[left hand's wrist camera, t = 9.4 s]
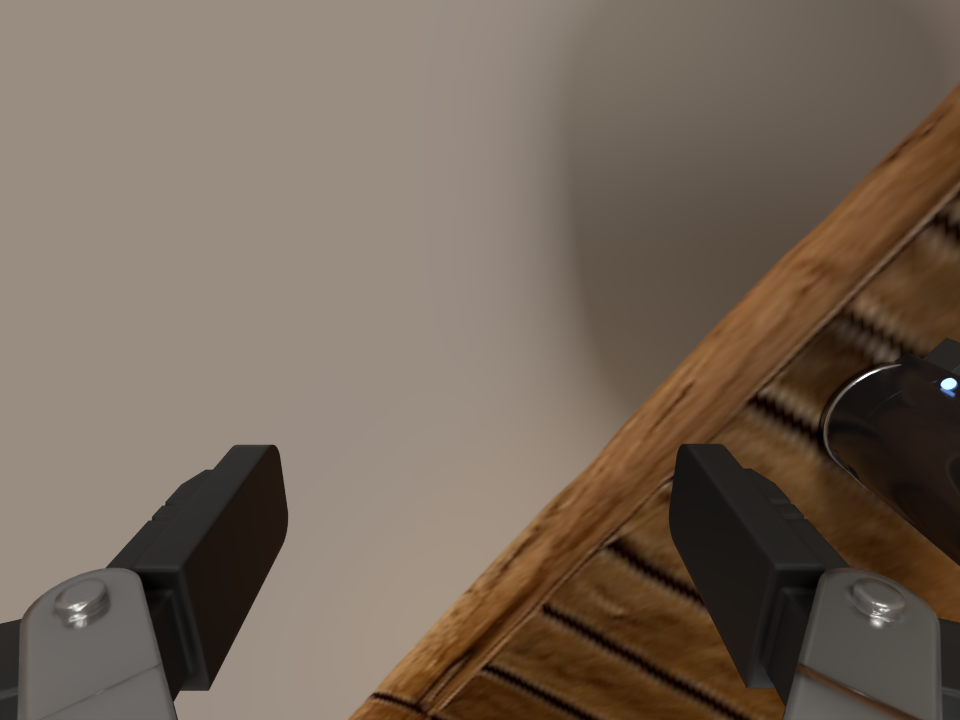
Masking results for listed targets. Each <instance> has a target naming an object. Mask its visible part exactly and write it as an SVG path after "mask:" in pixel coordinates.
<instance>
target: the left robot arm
mask: <svg viewBox="0 0 960 720" xmlns="http://www.w3.org/2000/svg"><path fill="white" fill-rule="evenodd" d="M820 436H821V441H822V444H823V447H824V449H825V451H826V452H827V454H828V455H829V456H830V457H831V458H832V459H833V460H834V461H835V462H836V463H837V464H839V465H840V466H841V467H842V468H844V469H845V470H846V471H847V472H849V473H850V474H851V475H852V476H853V477H854V478H855V479H856V478H857V479H858V480H859V481H860V482H862V483H863V484H864V485H865V486H866V487H867V488H869V489H870V490H871V491H872V492H873V493H874V494H876V495H877V496H878V497H879V498H880V499H881V500H883V501H884V502H885V503H886V504H887V505H888V506H890V507H891V508H892V509H893V510H894V511H896V512H897V513H898V514H899V515H900V516H901V517H903V518H904V519H905V520H906V521H907V522H908V523H910V524H911V525H912V526H913V527H914V528H916V529H917V530H918V531H919V532H920V533H921V534H923V535H924V536H925V537H926V538H927V539H928V540H930V541H931V542H932V543H933V544H934V545H935V546H937V547H938V548H939V549H940V550H941V551H943V552H944V553H945V554H946V555H947V556H948V557H950V558H951V559H952V560H953V561H954V562H955V563H957V564H958V565H959V566H960V343H959V342H956V341H954V340H951V339H949V338H946V339H945V340H944V341H943V342H942V343H940V344H939V345H938V346H937V347H936V348H935V349H933V350H932V351H931V352H930V353H929V354H928V355H926V356H925V357H924V358H923V359H922V358H920V357H917V356H915V355H913V354H911V353H909V352H908V353H905V354H904V355H902V356H901V357H900V358H899V359H897V360H896V361H894V362H887V363H882V364H878V365H875V366H872V367H869V368H867V369H865V370H862V371H860V372H859V373H857V374H855V375H854V376H852V377H851V378H849V379H848V380H847V381H846V382H845V383H843V384H842V385H841V386H840V387H839V388H838V389H837V391H836V392H835V393H834V394H833V395H832V397H831V398H830V400H829V401H828V403H827V405H826V407H825V409H824V412H823V415H822V418H821V423H820ZM857 479H856V480H857ZM858 480H857V481H858ZM859 481H858V482H859ZM860 482H859V483H860ZM860 484H861V483H860ZM861 485H862V484H861ZM862 486H863V485H862ZM863 487H864V486H863ZM864 488H865V487H864ZM669 525H670V531H671V536H672V539H673V542H674V544H675V546H676V548H677V550H678V552H679V554H680V556H681V558H682V560H683V562H684V564H685V566H686V568H687V570H688V572H689V574H690V576H691V578H692V580H693V582H694V584H695V586H696V588H697V590H698V592H699V594H700V596H701V598H702V600H703V602H704V604H705V606H706V608H707V610H708V612H709V614H710V616H711V618H712V620H713V622H714V624H715V626H716V628H717V630H718V632H719V634H720V636H721V638H722V640H723V642H724V644H725V646H726V648H727V650H728V652H729V654H730V656H731V658H732V660H733V662H734V664H735V666H736V668H737V670H738V672H739V674H740V676H741V678H742V680H743V682H744V684H745V686H746V688H775V689H776V690H777V692H778V694H779V696H780V698H781V699H782V701H783V703H784V705H785V710H784V714H783V718H782V720H960V623H958V622H954V621H949V620H945V619H940V618H937V616H936V614H935V612H934V611H933V610H932V608H931V607H930V606H929V605H928V604H927V603H926V602H925V601H924V600H923V599H922V598H921V597H920V596H918V595H917V594H916V593H914V592H913V591H911V590H910V589H909V588H907V587H905V586H903V585H902V584H900V583H898V582H896V581H894V580H892V579H890V578H888V577H885V576H883V575H880V574H877V573H874V572H871V571H866V570H862V569H856V568H851V567H850V566H849V565H848V564H847V563H846V562H845V561H844V560H843V559H842V557H841V556H840V555H839V554H838V553H837V552H836V551H835V550H834V549H833V547H832V546H831V545H830V544H829V543H828V542H827V541H826V540H825V539H824V537H823V536H822V535H821V534H820V533H819V532H818V531H817V530H816V529H815V527H814V526H813V525H812V524H811V523H810V522H809V521H808V520H807V519H804V515H803V514H802V513H801V512H800V511H799V510H798V509H797V507H796V506H795V505H794V504H791V501H790V500H789V499H788V497H787V496H786V495H785V494H784V493H783V492H782V491H781V490H780V489H779V487H778V486H777V485H776V484H775V483H773V482H772V481H770V480H768V479H767V478H765V477H764V476H762V475H760V474H759V473H757V472H755V471H754V470H752V469H743V468H742V466H741V465H740V464H739V463H738V462H737V460H736V459H735V458H734V457H733V456H732V455H731V453H730V452H729V451H728V450H727V449H726V447H725V446H724V445H722V444H682V445H681V446H680V447H679V450H678V453H677V458H676V466H675V473H674V480H673V487H672V494H671V501H670V508H669ZM287 527H288V509H287V502H286V495H285V488H284V481H283V474H282V467H281V460H280V454H279V451H278V449H277V447H276V446H275V445H235V446H233V447H232V448H231V449H230V450H229V452H228V453H227V454H226V455H225V456H224V457H223V459H222V460H221V461H220V462H219V463H218V464H217V466H216V467H215V468H214V469H213V470H204V471H203V472H201V473H200V474H198V475H196V476H195V477H193V478H191V479H190V480H188V481H186V482H185V483H183V484H182V485H181V486H180V487H179V488H178V489H177V490H176V491H175V492H174V493H173V494H172V495H171V497H170V498H169V499H168V500H167V501H166V504H165V506H161V508H160V509H159V510H158V511H157V512H156V513H155V514H154V515H153V516H152V521H148V522H147V523H146V524H145V525H144V526H143V527H142V528H141V530H140V531H139V532H138V533H137V534H136V535H135V536H134V537H133V538H132V539H131V541H130V542H129V543H128V544H127V545H126V546H125V547H124V548H123V549H122V551H121V552H120V553H119V554H118V555H117V556H116V557H115V558H114V559H113V560H112V562H111V563H110V564H109V565H108V566H107V567H106V568H105V569H98V570H94V571H89V572H86V573H83V574H80V575H77V576H75V577H72V578H70V579H68V580H66V581H64V582H62V583H60V584H58V585H57V586H55V587H53V588H51V589H50V590H49V591H47V592H46V593H44V594H43V595H42V596H40V597H39V598H38V599H37V600H36V601H35V602H34V603H33V604H32V605H31V606H30V607H29V608H28V610H27V611H26V612H25V614H24V616H23V618H22V619H19V620H15V621H11V622H6V623H2V624H0V720H178V718H177V714H176V710H175V707H174V703H173V702H174V700H175V698H176V697H177V695H178V693H179V691H208V690H209V689H210V687H211V685H212V683H213V681H214V679H215V677H216V675H217V673H218V671H219V669H220V667H221V665H222V663H223V662H224V660H225V657H226V656H227V654H228V652H229V650H230V648H231V646H232V644H233V642H234V640H235V638H236V636H237V634H238V632H239V630H240V628H241V626H242V624H243V622H244V620H245V618H246V616H247V614H248V612H249V610H250V608H251V606H252V604H253V602H254V600H255V598H256V596H257V594H258V593H259V591H260V589H261V586H262V585H263V583H264V581H265V579H266V577H267V575H268V573H269V571H270V569H271V567H272V565H273V563H274V561H275V559H276V557H277V555H278V553H279V551H280V549H281V547H282V545H283V543H284V540H285V537H286V533H287Z"/></svg>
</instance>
